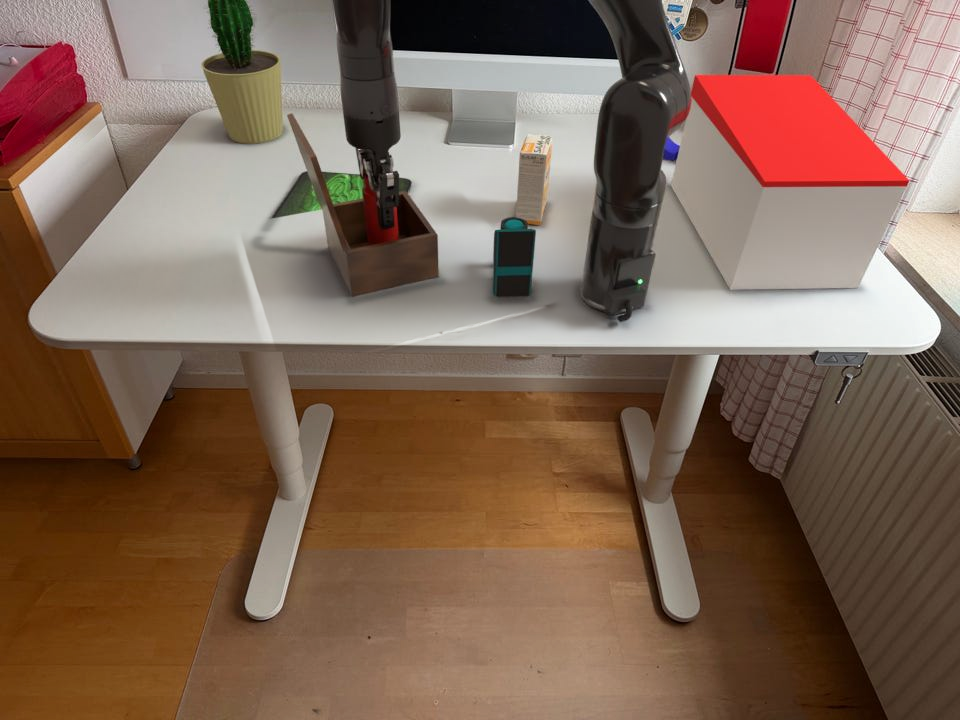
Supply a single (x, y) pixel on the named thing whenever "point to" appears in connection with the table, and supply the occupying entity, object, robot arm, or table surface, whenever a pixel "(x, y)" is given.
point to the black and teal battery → (513, 258)
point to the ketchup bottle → (376, 218)
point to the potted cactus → (243, 76)
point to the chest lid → (317, 181)
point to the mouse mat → (338, 186)
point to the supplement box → (533, 177)
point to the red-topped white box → (782, 183)
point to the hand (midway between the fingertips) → (381, 218)
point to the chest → (383, 249)
